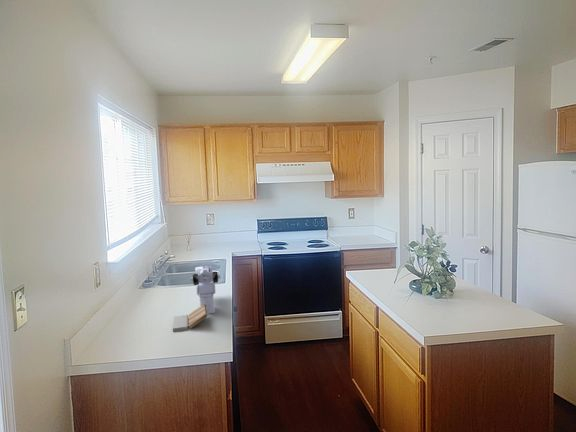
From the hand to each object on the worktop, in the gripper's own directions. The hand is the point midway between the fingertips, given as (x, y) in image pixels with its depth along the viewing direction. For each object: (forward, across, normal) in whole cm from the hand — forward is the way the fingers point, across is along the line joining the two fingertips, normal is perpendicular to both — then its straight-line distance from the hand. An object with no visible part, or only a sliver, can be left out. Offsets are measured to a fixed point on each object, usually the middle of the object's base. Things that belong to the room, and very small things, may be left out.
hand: (205, 280), depth 209 cm
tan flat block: (-4, -5, +18) cm, 20 cm away
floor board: (-5, -14, +21) cm, 25 cm away
